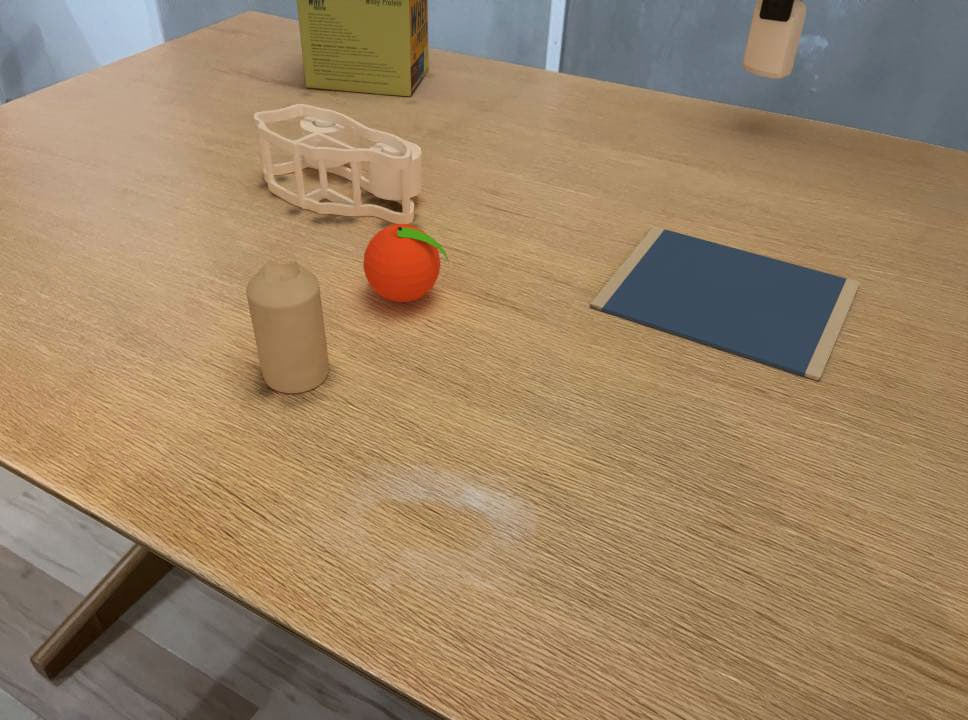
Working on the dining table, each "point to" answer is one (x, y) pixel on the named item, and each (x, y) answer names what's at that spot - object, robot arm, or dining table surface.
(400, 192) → the cream open lattice frame
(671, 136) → the dining table surface
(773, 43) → the eye dropper bottle
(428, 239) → the clementine
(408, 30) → the protein box
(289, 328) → the candle
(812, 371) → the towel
